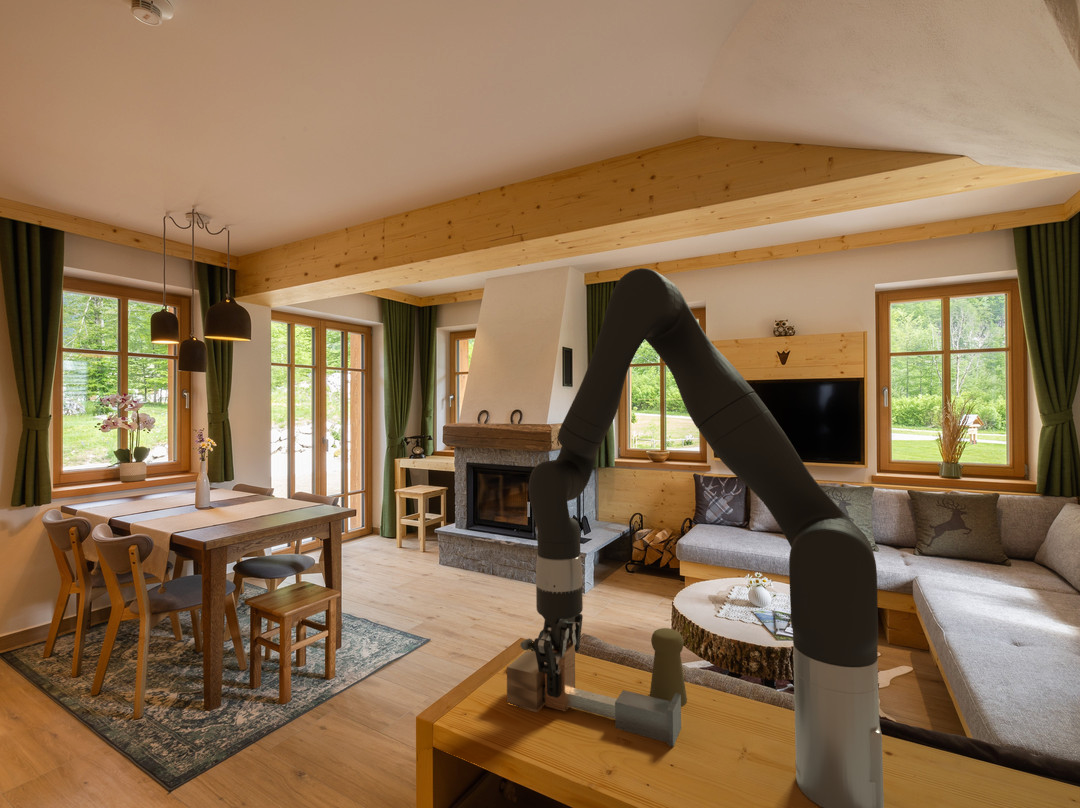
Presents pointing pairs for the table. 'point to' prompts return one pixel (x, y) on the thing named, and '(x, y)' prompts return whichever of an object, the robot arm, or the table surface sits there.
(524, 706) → the socket block
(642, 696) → the sleeve
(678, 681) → the olive green pawn
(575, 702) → the bar
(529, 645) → the eagle figurine
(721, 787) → the table surface
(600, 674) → the table surface
